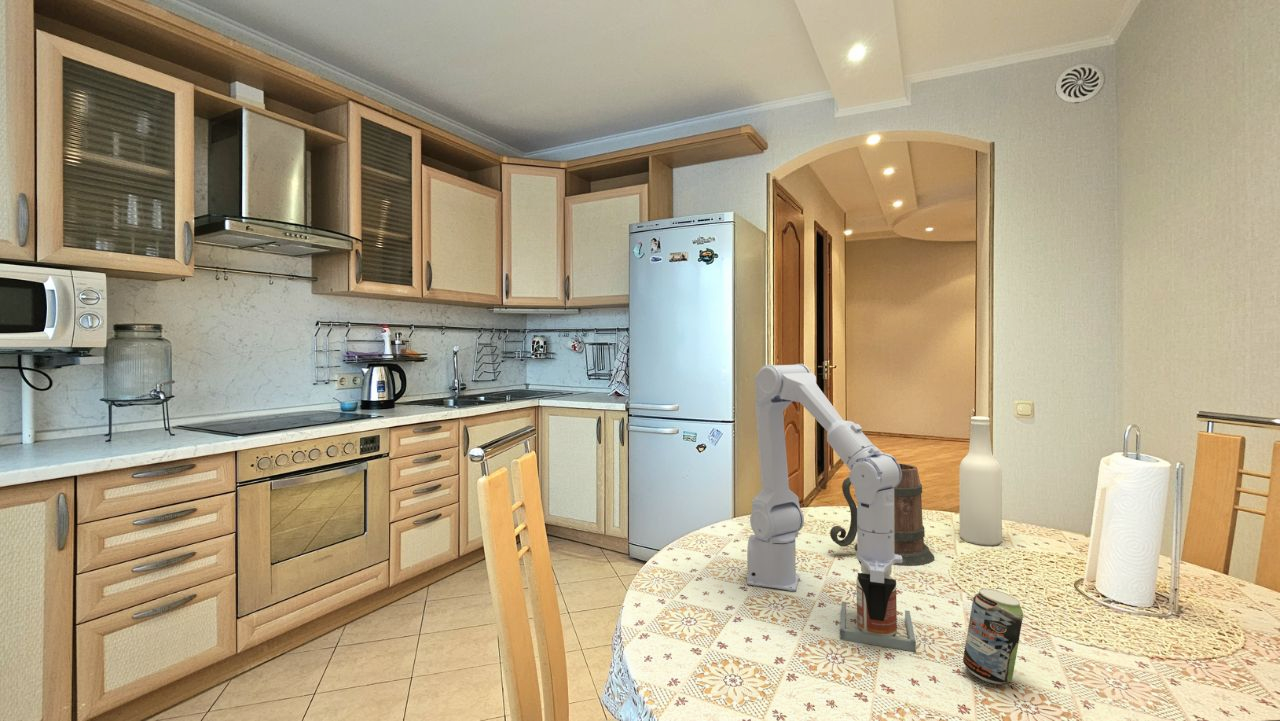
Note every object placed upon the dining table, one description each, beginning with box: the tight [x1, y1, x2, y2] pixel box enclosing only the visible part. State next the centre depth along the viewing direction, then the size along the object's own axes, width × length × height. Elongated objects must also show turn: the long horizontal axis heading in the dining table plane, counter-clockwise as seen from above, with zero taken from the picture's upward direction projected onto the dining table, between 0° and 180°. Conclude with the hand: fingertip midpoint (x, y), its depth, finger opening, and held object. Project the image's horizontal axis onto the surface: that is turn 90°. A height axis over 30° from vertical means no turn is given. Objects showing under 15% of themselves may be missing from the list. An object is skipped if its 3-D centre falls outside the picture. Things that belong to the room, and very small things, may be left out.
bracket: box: [839, 600, 917, 653], centre depth 93 cm, size 11×11×2 cm
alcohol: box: [958, 415, 1003, 547], centre depth 135 cm, size 9×9×30 cm
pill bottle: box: [855, 563, 898, 637], centre depth 93 cm, size 6×6×11 cm
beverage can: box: [962, 587, 1024, 685], centre depth 79 cm, size 6×7×12 cm
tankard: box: [829, 463, 936, 567], centre depth 127 cm, size 24×17×20 cm
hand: (875, 608), depth 93 cm, fingers open, 7 cm apart
